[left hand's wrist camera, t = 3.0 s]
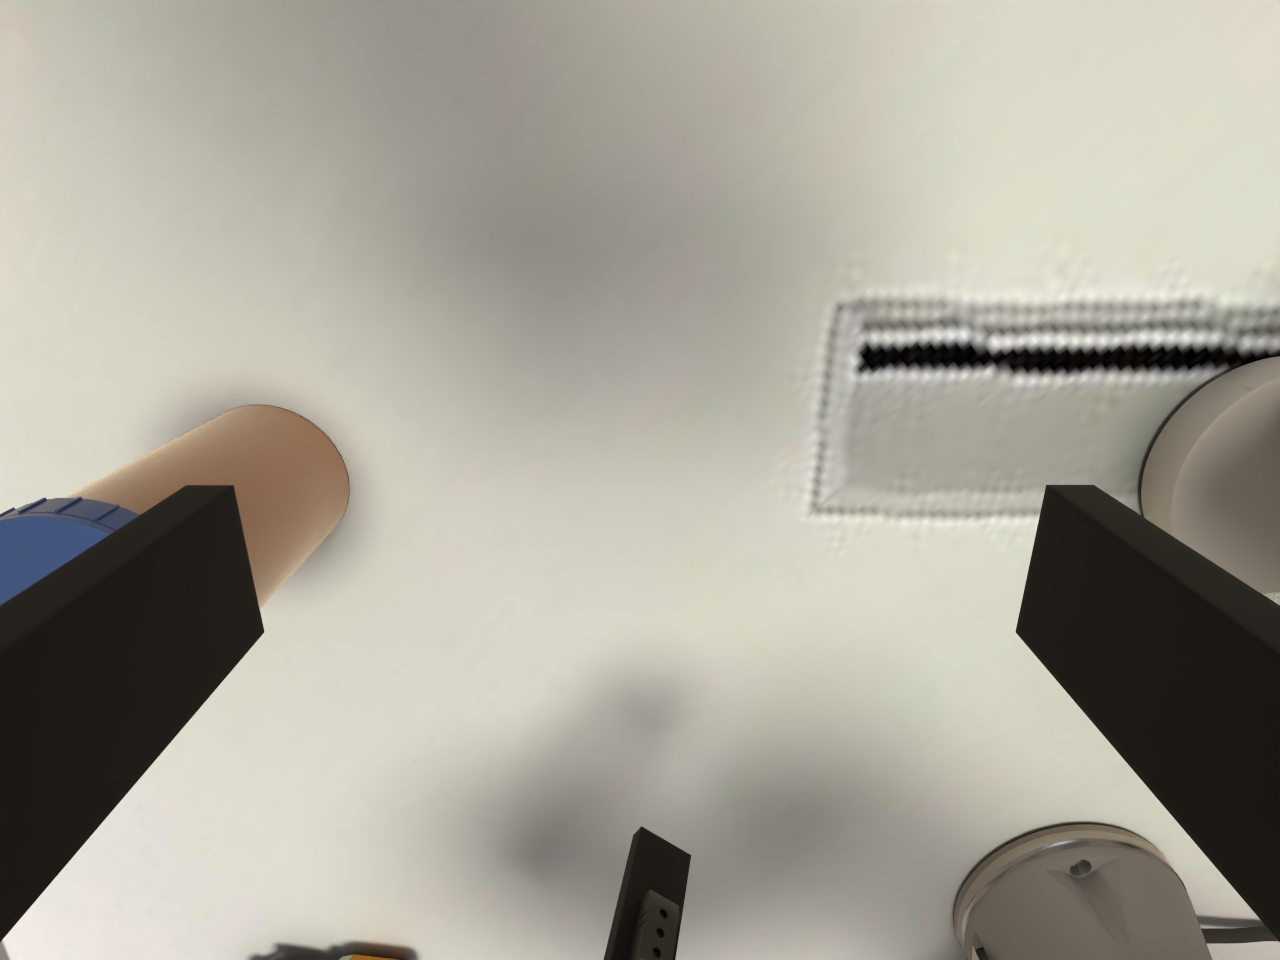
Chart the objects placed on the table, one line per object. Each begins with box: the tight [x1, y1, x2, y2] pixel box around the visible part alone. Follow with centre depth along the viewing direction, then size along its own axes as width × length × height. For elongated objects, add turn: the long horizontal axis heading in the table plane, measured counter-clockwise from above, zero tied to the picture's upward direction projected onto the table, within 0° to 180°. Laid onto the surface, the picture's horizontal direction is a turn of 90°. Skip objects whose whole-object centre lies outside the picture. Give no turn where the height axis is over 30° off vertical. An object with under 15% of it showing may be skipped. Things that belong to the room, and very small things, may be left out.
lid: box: [0, 497, 140, 605], centre depth 28 cm, size 10×10×2 cm
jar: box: [65, 405, 349, 610], centre depth 35 cm, size 9×9×15 cm
